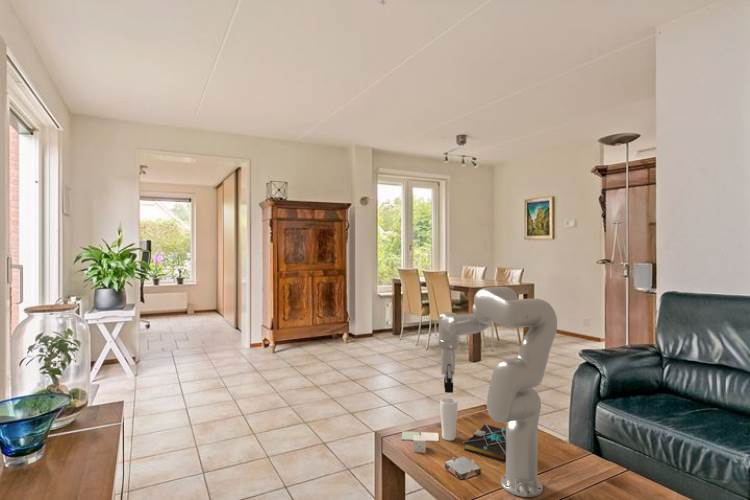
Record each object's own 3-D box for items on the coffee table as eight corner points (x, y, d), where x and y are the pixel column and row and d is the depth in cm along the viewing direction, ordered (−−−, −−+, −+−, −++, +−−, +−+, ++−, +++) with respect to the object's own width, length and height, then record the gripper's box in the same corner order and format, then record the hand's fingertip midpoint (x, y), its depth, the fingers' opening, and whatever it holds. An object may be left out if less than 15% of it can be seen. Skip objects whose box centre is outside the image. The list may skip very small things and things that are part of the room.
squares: (438, 441, 167) (438, 440, 167) (401, 439, 169) (401, 438, 169) (438, 433, 174) (438, 432, 174) (402, 432, 176) (402, 431, 176)
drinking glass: (438, 440, 168) (438, 402, 168) (441, 433, 175) (441, 396, 174) (456, 443, 166) (456, 404, 166) (458, 435, 173) (458, 398, 173)
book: (507, 464, 150) (507, 450, 150) (462, 451, 160) (462, 438, 160) (526, 441, 168) (526, 429, 168) (484, 431, 178) (484, 419, 178)
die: (425, 453, 159) (425, 440, 159) (413, 452, 159) (413, 440, 159) (425, 447, 163) (425, 435, 163) (413, 446, 164) (413, 434, 164)
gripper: (438, 339, 179) (438, 382, 179) (439, 349, 162) (439, 397, 162) (456, 339, 178) (456, 383, 178) (459, 349, 161) (460, 398, 161)
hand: (448, 389), depth 170 cm, fingers open, 4 cm apart
